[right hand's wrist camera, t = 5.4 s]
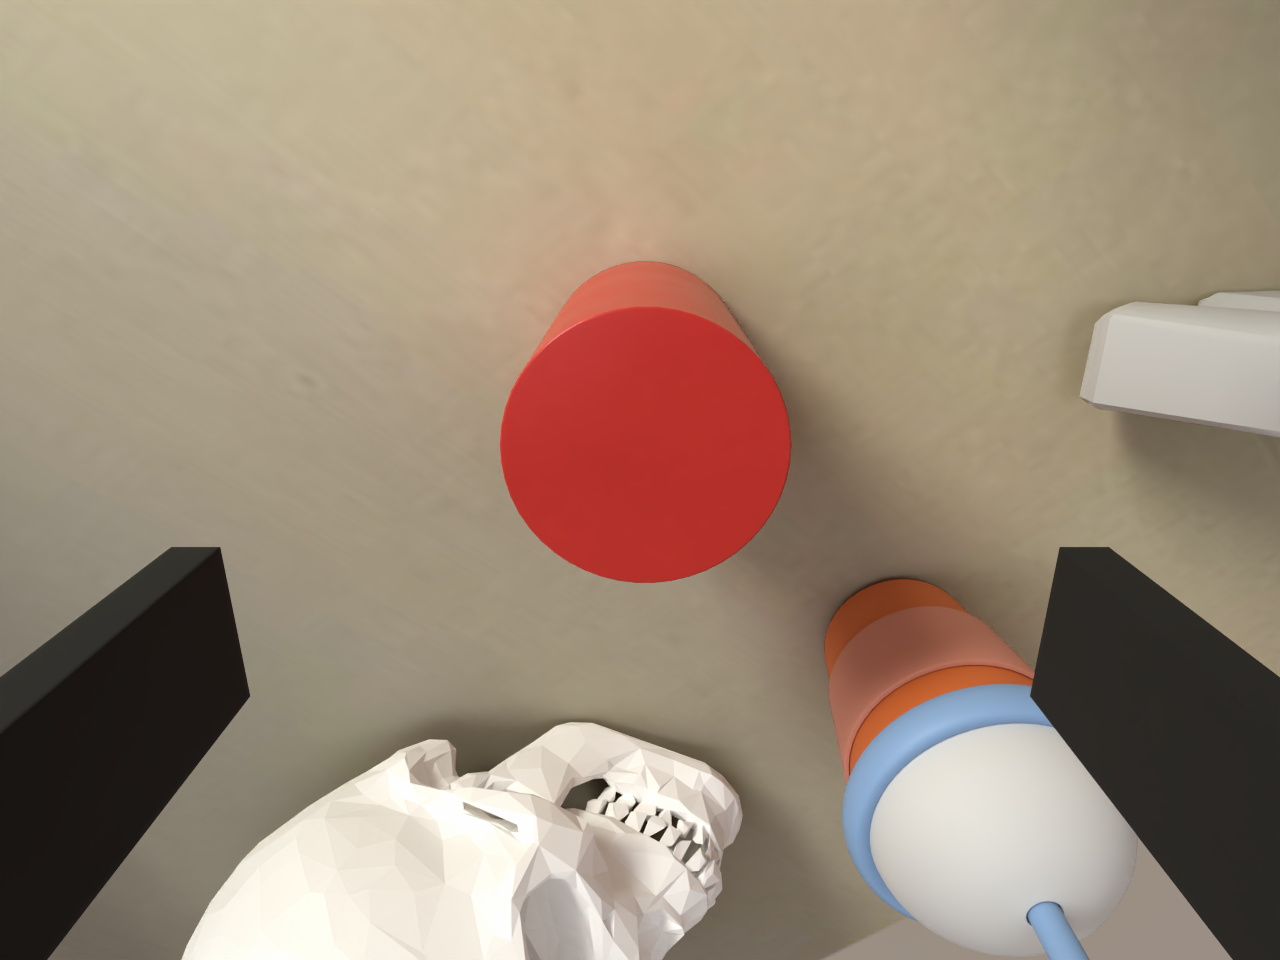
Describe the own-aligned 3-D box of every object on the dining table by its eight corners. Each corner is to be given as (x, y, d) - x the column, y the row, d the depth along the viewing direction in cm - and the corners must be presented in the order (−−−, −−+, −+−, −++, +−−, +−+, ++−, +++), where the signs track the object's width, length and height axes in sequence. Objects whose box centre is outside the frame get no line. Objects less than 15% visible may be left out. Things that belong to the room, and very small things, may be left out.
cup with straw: (1018, 693, 35) (1363, 1162, 18) (820, 749, 36) (974, 1240, 19) (977, 516, 32) (1343, 883, 15) (762, 584, 33) (885, 995, 16)
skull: (765, 871, 39) (838, 1287, 24) (349, 952, 41) (174, 1382, 26) (703, 639, 35) (743, 966, 20) (244, 742, 37) (-37, 1108, 22)
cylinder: (760, 283, 29) (826, 339, 19) (715, 464, 32) (751, 605, 21) (566, 242, 29) (522, 278, 18) (536, 430, 31) (482, 556, 21)
